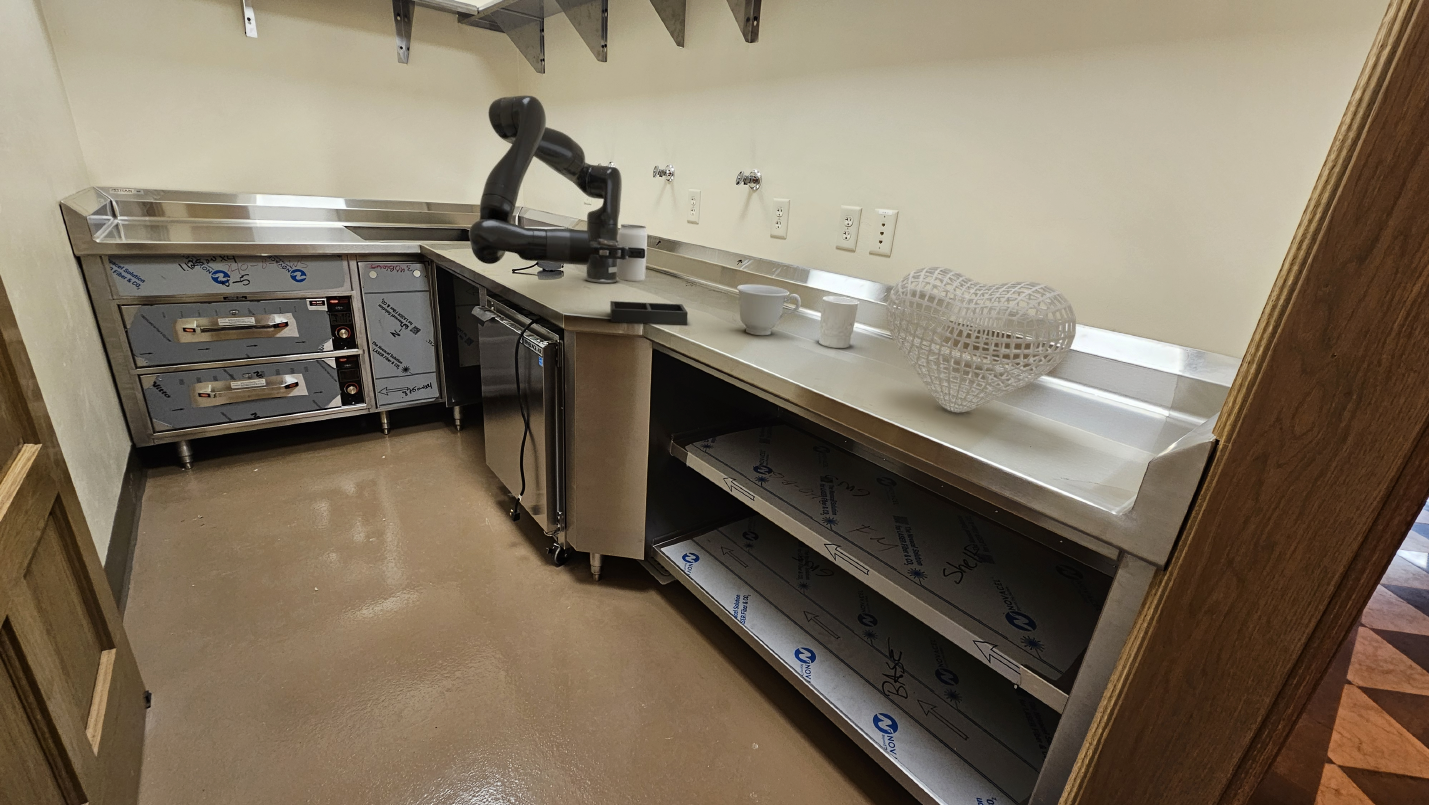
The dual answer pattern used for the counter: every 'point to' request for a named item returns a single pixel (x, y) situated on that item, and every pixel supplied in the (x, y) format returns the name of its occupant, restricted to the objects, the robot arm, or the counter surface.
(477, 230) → the robot arm
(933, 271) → the heart
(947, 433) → the counter surface
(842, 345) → the white cup
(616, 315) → the tray
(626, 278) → the can
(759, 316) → the teacup
